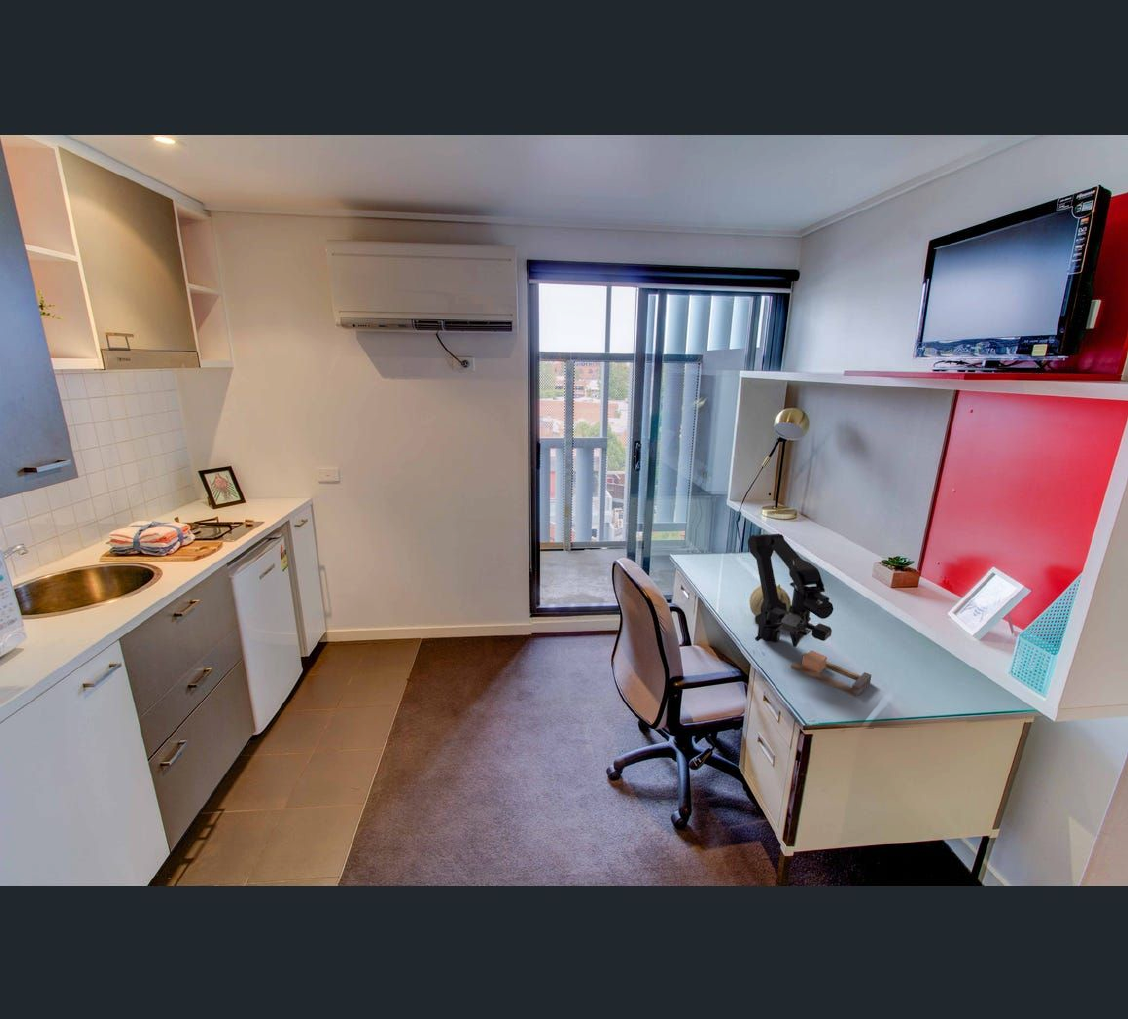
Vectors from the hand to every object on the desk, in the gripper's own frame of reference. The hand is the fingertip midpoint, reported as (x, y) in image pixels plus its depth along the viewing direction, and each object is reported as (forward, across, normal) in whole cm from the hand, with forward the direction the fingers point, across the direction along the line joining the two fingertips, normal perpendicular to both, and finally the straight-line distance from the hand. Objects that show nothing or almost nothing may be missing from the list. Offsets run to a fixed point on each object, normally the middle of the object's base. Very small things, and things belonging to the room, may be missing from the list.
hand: (795, 646), depth 163 cm
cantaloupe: (+6, -19, +21) cm, 29 cm away
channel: (+6, +12, 0) cm, 13 cm away
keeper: (+5, +7, 0) cm, 8 cm away
